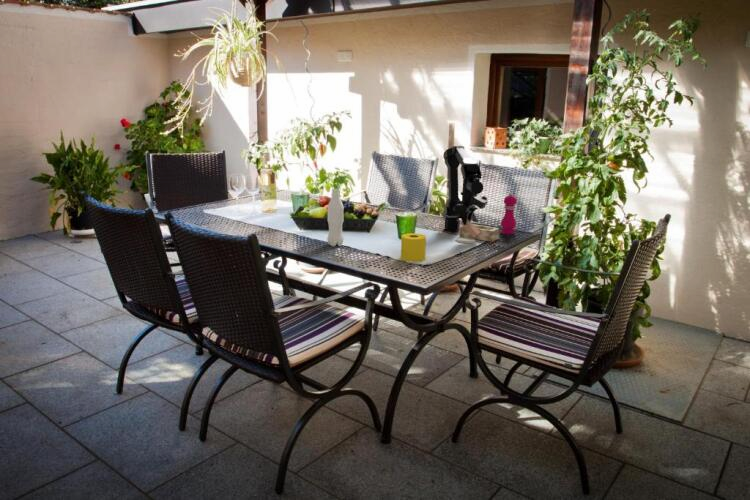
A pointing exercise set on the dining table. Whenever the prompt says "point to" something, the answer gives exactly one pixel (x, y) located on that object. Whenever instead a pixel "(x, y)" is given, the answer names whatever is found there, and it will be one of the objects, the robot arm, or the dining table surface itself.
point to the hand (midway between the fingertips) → (466, 223)
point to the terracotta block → (471, 228)
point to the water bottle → (335, 219)
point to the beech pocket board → (482, 233)
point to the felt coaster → (465, 240)
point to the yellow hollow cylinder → (413, 247)
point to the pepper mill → (509, 215)
